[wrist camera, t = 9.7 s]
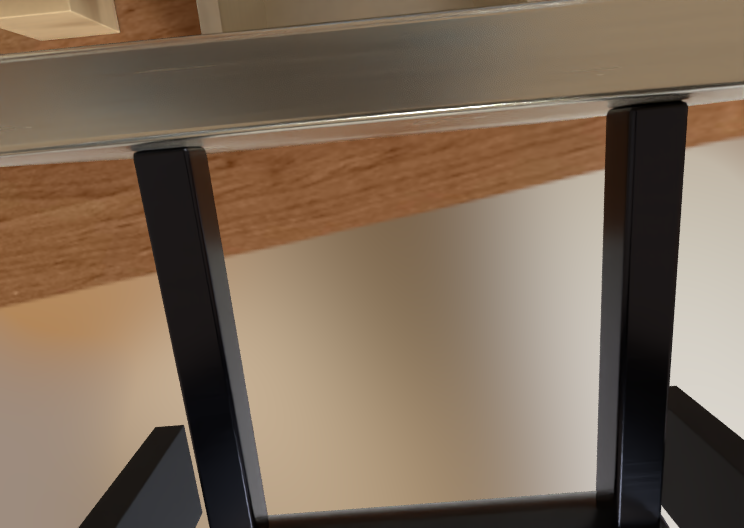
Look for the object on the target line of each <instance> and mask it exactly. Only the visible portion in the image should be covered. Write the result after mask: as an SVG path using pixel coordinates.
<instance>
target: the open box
mask: <svg viewBox="0 0 744 528" xmlns="http://www.w3.org/2000/svg"><path fill="white" fill-rule="evenodd" d="M533 1H543V0H196V3H197V9H198V15H199V21H200V28H201V34H210V33H221V32H231V31H241V30H251V29H261V28H271V27H281V26H291V25H301V24H311V23H321V22H331V21H341V20H352V19H362V18H372V17H382V16H392V15H402V14H412V13H422V12H432V11H442V10H452V9H462V8H472V7H483V6H493V5H503V4H513V3H523V2H533Z"/></svg>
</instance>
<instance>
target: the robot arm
mask: <svg viewBox="0 0 744 528" xmlns="http://www.w3.org/2000/svg"><path fill="white" fill-rule="evenodd" d="M661 505H662V506H663V508H664V509H665V510H666V511H667V513H668V514H669V515H670V517H671V518H672V519H673V520H674V522H675V523H676V524H677V525H678V527H679V528H744V440H743V439H742V438H741V437H740V436H738V435H737V434H736V433H735V432H733V431H732V430H731V429H730V428H728V427H727V426H726V425H725V424H723V423H722V422H721V421H720V420H718V419H717V418H716V417H715V416H713V415H712V414H711V413H709V412H708V411H707V410H706V409H704V408H703V407H702V406H701V405H700V404H698V403H697V402H696V401H695V400H693V399H692V398H691V397H690V396H688V395H687V394H686V393H685V392H683V391H682V390H681V389H679V388H678V387H677V386H669V398H668V413H667V428H666V442H665V457H664V472H663V487H662V502H661ZM201 514H202V509H201V504H200V499H199V495H198V490H197V485H196V480H195V476H194V471H193V466H192V461H191V456H190V452H189V447H188V442H187V438H186V432H185V428H184V425H178V426H165V427H155V428H154V430H153V431H152V432H151V434H150V435H149V436H148V438H147V439H146V440H145V441H144V443H143V444H142V445H141V447H140V448H139V449H138V451H137V452H136V453H135V454H134V456H133V457H132V458H131V460H130V461H129V462H128V464H127V465H126V466H125V468H124V469H123V470H122V471H121V473H120V474H119V475H118V477H117V478H116V479H115V481H114V482H113V483H112V485H111V486H110V487H109V488H108V490H107V491H106V492H105V494H104V495H103V496H102V498H101V499H100V500H99V502H98V503H97V504H96V505H95V507H94V508H93V509H92V511H91V512H90V513H89V515H88V516H87V517H86V519H85V520H84V521H83V522H82V524H81V525H80V527H79V528H195V527H196V525H197V523H198V521H199V519H200V517H201Z"/></svg>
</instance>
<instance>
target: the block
mask: <svg viewBox="0 0 744 528" xmlns="http://www.w3.org/2000/svg"><path fill="white" fill-rule="evenodd" d="M0 28H2V29H5V30H8V31H12V32H15V33H18V34H21V35H25V36H28V37H31V38H34V39H37V40H41V41H44V40H54V39H64V38H74V37H84V36H94V35H104V34H114V33H120V30H119V25H118V20H117V15H116V10H115V5H114V0H0Z"/></svg>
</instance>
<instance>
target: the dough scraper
mask: <svg viewBox="0 0 744 528" xmlns="http://www.w3.org/2000/svg"><path fill="white" fill-rule="evenodd" d="M742 99H744V0H543V1H533V2H523V3H513V4H503V5H493V6H483V7H472V8H462V9H452V10H442V11H432V12H422V13H412V14H402V15H392V16H382V17H372V18H362V19H352V20H341V21H331V22H321V23H311V24H301V25H291V26H281V27H271V28H261V29H251V30H241V31H231V32H221V33H210V34H200V35H190V36H180V37H170V38H160V39H150V40H140V41H130V42H120V43H110V44H100V45H89V46H79V47H69V48H59V49H49V50H39V51H29V52H19V53H9V54H0V167H7V166H23V165H39V164H55V163H71V162H87V161H103V160H118V159H134V164H135V168H136V173H137V178H138V183H139V188H140V193H141V197H142V202H143V207H144V212H145V217H146V222H147V226H148V231H149V236H150V241H151V246H152V251H153V256H154V260H155V265H156V270H157V275H158V280H159V284H160V289H161V294H162V299H163V304H164V308H165V314H166V318H167V323H168V328H169V333H170V338H171V342H172V347H173V352H174V357H175V362H176V367H177V372H178V376H179V381H180V386H181V390H182V396H183V401H184V405H185V410H186V415H187V420H188V425H189V430H190V435H191V439H192V444H193V449H194V454H195V459H196V463H197V468H198V473H199V478H200V483H201V488H202V492H203V497H204V502H205V507H206V512H207V517H208V522H209V527H210V528H669V526H668V524H667V523H666V521H665V520H664V518H663V517H662V515H661V502H662V487H663V472H664V457H665V442H666V428H667V413H668V398H669V382H670V367H671V352H672V337H673V322H674V307H675V294H676V279H677V278H676V277H677V264H678V249H679V234H680V218H681V204H682V189H683V188H682V187H683V174H684V173H683V172H684V160H685V145H686V130H687V115H688V106H692V105H700V104H708V103H717V102H725V101H733V100H742ZM599 116H606V152H605V188H604V226H603V261H602V262H603V263H602V296H601V333H600V369H599V370H600V371H599V404H598V406H599V407H598V440H597V441H598V442H597V476H596V491H589V492H575V493H562V494H548V495H535V496H522V497H508V498H496V499H482V500H468V501H455V502H441V503H428V504H416V505H403V506H402V505H401V506H388V507H374V508H361V509H348V510H335V511H323V512H308V513H294V514H281V515H267V508H266V502H265V497H264V491H263V485H262V479H261V473H260V467H259V462H258V455H257V449H256V443H255V438H254V432H253V426H252V420H251V414H250V408H249V402H248V396H247V391H246V385H245V379H244V374H243V367H242V361H241V356H240V349H239V344H238V338H237V332H236V326H235V320H234V314H233V308H232V302H231V296H230V290H229V285H228V279H227V273H226V267H225V261H224V255H223V249H222V243H221V238H220V232H219V226H218V220H217V214H216V208H215V202H214V196H213V190H212V185H211V179H210V173H209V167H208V161H207V155H206V154H214V153H226V152H237V151H248V150H258V149H269V148H280V147H291V146H301V145H312V144H323V143H334V142H344V141H355V140H366V139H377V138H387V137H398V136H409V135H420V134H430V133H441V132H452V131H462V130H473V129H484V128H495V127H505V126H516V125H527V124H538V123H548V122H558V121H566V120H574V119H583V118H591V117H599Z"/></svg>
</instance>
